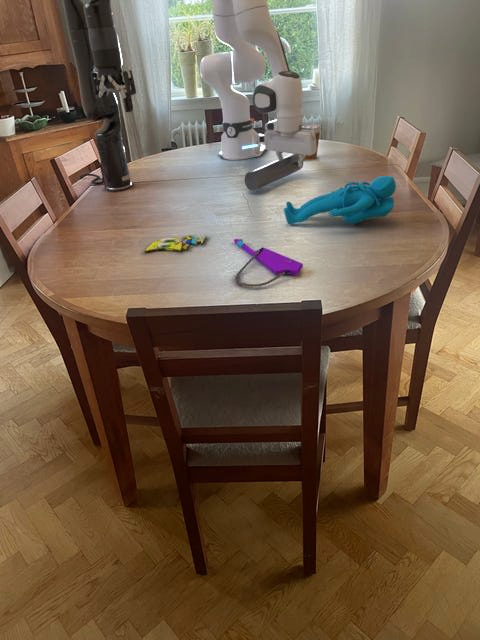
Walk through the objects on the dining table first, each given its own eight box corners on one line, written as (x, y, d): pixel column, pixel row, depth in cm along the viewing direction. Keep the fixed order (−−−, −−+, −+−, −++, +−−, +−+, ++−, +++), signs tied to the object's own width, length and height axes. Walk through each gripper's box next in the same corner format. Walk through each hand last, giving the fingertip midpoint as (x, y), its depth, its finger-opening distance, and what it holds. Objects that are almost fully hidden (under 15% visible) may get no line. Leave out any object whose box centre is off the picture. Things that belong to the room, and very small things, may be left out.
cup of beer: (293, 160, 191) (293, 129, 184) (300, 154, 198) (300, 123, 192) (317, 161, 188) (317, 129, 181) (323, 154, 195) (323, 123, 188)
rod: (259, 192, 158) (258, 173, 155) (245, 189, 162) (243, 171, 158) (303, 171, 174) (303, 154, 171) (289, 169, 178) (289, 152, 174)
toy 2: (287, 190, 142) (392, 164, 131) (296, 223, 147) (398, 200, 137) (279, 211, 128) (395, 184, 118) (289, 247, 133) (402, 223, 123)
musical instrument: (279, 298, 104) (317, 250, 116) (277, 290, 102) (316, 243, 115) (192, 283, 116) (235, 241, 129) (190, 275, 115) (233, 234, 127)
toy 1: (199, 248, 125) (143, 249, 127) (199, 251, 125) (144, 252, 127) (206, 233, 133) (154, 234, 135) (206, 236, 133) (154, 237, 136)
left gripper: (134, 44, 128) (145, 109, 137) (96, 46, 135) (109, 108, 143) (114, 47, 123) (127, 114, 131) (76, 49, 129) (91, 113, 138)
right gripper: (320, 124, 161) (320, 166, 168) (271, 120, 172) (273, 159, 180) (310, 128, 157) (310, 171, 164) (261, 124, 168) (263, 164, 176)
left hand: (118, 111), depth 137 cm, fingers open, 8 cm apart
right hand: (290, 165), depth 172 cm, fingers closed on rod, 6 cm apart
